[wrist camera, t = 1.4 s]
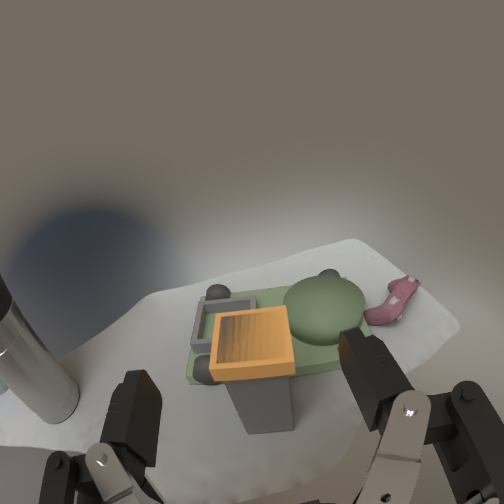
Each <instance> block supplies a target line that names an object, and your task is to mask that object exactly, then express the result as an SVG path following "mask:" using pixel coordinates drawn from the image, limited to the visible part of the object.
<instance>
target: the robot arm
mask: <svg viewBox="0 0 504 504" xmlns="http://www.w3.org/2000/svg"><path fill="white" fill-rule="evenodd" d="M339 359H340V365H341V368H342V371H343V373H344V375H345V377H346V379H347V382H348V384H349V386H350V388H351V390H352V393H353V395H354V397H355V399H356V402H357V404H358V406H359V408H360V411H361V413H362V415H363V417H364V420H365V422H366V424H367V426H368V429H369V431H370V432H371V431H374V430H377V429H378V431H379V433H380V435H381V437H380V440H379V443H378V445H377V448H376V451H375V454H374V456H373V459H372V461H371V464H370V466H369V469H368V471H367V474H366V476H365V478H364V480H363V482H362V484H361V486H360V489H359V491H358V493H357V495H356V497H355V499H354V501H353V503H352V504H409V502H410V499H411V497H412V494H413V491H414V488H415V485H416V482H417V479H418V476H419V472H420V469H421V461H420V455H421V452H422V448H423V445H427V444H432V443H433V445H434V448H435V450H436V452H437V454H438V457H439V459H440V461H441V464H442V466H443V468H444V471H445V474H446V476H447V479H448V481H449V484H450V486H451V489H452V492H453V494H454V497H455V499H456V502H457V504H504V424H503V423H502V421H501V419H500V418H499V416H498V414H497V412H496V411H495V409H494V407H493V406H492V404H491V402H490V401H489V399H488V398H487V396H486V395H485V393H484V391H483V390H482V389H481V387H480V386H479V385H478V384H477V383H475V382H473V381H463V382H460V383H458V384H457V385H456V386H455V387H454V388H453V390H452V392H448V393H443V394H438V395H425V394H424V393H422V392H420V391H416V390H415V389H414V388H413V387H412V386H411V384H410V382H409V381H408V379H407V378H406V376H405V375H404V373H403V371H402V370H401V368H400V367H399V365H398V364H397V362H396V360H394V357H393V356H392V354H391V353H390V352H389V350H388V348H387V347H386V345H385V344H384V342H383V341H382V340H380V339H379V338H377V337H376V336H374V335H370V336H367V337H365V335H364V334H363V332H362V331H361V329H360V328H359V327H358V326H357V327H354V328H350V329H347V330H344V331H340V334H339ZM0 379H1V380H2V381H3V382H4V383H5V384H6V385H7V386H8V387H9V388H10V389H11V390H12V392H13V393H14V394H15V395H16V396H17V397H18V398H19V399H21V400H22V401H23V402H24V403H25V404H26V405H27V406H28V407H29V408H30V409H31V410H32V411H33V412H34V413H35V414H37V415H38V416H39V417H40V418H41V419H42V420H44V421H45V422H47V423H51V424H55V423H59V422H62V421H64V420H65V419H67V418H68V417H69V416H70V415H71V414H72V412H73V411H74V410H75V408H76V405H77V403H78V399H79V390H78V387H77V385H76V383H75V382H74V381H73V380H72V378H71V377H70V376H69V375H68V374H67V373H66V372H65V370H64V369H63V368H62V367H61V365H60V364H59V363H58V362H57V361H56V359H55V358H54V357H53V356H52V354H51V353H50V352H49V350H48V349H47V348H46V347H45V345H44V344H43V343H42V341H41V340H40V339H39V337H38V336H37V334H36V333H35V331H34V330H33V329H32V327H31V326H30V324H29V323H28V321H27V320H26V318H25V317H24V315H23V314H22V312H21V311H20V309H19V307H18V306H17V304H16V302H15V301H14V299H13V297H12V296H11V294H10V292H9V291H8V289H7V287H6V285H5V283H4V281H3V279H2V276H1V274H0ZM161 410H162V396H161V393H160V391H159V390H158V388H157V387H156V385H155V384H154V382H153V381H152V379H151V378H150V376H149V375H148V373H147V372H146V371H145V370H134V371H127V372H126V375H125V378H124V381H123V383H119V385H118V386H117V388H116V389H115V390H114V392H113V394H112V397H111V401H110V404H109V408H108V412H107V415H106V419H105V423H104V427H103V430H102V435H101V439H100V442H99V443H97V444H94V445H92V446H91V447H90V448H89V449H88V451H87V453H86V454H84V455H79V456H74V457H70V456H69V455H67V454H66V453H65V452H63V451H55V452H54V453H52V454H51V455H50V456H49V458H48V459H47V463H46V468H45V472H44V477H43V482H42V487H41V493H40V499H39V504H73V503H74V495H75V491H77V492H78V497H77V504H168V503H167V501H166V500H165V499H164V498H163V496H162V495H161V494H160V492H159V491H158V490H157V488H156V487H155V486H154V484H153V483H152V481H151V480H150V479H149V477H148V476H147V475H146V474H145V468H146V467H155V463H156V453H157V443H158V434H159V426H160V418H161ZM302 504H334V503H320V502H319V500H314V501H310V502H306V503H302Z"/></svg>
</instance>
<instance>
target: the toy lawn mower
mask: <svg viewBox="0 0 504 504" xmlns="http://www.w3.org/2000/svg"><path fill="white" fill-rule="evenodd" d="M282 305H286V309H287V315H288V322H289V328H290V334H291V341H292V348H293V354H294V361H295V374H291V375H289V377H294V376H301V375H308V374H314V373H320V372H326V371H331V370H337V369H342V368H341V365H340V359H339V334H340V331H344V330H347V329H350V328H354V327H357V326H358V327H359V328H360V329H361V331H362V332H363V334H364V335H365V337H367V336H370V335H372V334H371V332H370V329H369V327H368V325H367V322H366V320H365V318H364V316H363V313H364V305H365V299H364V295H363V293H362V291H361V290H360V289H359V287H358V286H356V285H355V284H354V283H352V282H351V281H349V280H347V279H346V277H344V278H341V277H340V275H339V273H338V272H337V271H336V270H334V269H327V270H324V271H322V272H321V273H320V274H319V275H318V276H314V277H310V278H306V279H304V280H301V281H299V282H297V283H296V284H294V285H291V286H284V287H277V288H269V289H262V290H254V291H246V292H238V293H231V292H230V290H229V289H228V288H227V287H226V286H224V285H220V284H215V285H212V286H210V287H209V288H208V289H207V293H206V296H203V297H201V299H200V302H199V303H198V308H197V313H196V318H195V322H194V327H193V332H192V337H191V343H190V345H191V350H190V355H189V361H188V366H187V372H186V377H187V379H188V381H189V383H190V384H191V385H193V384H205V385H217V384H221V383H224V381H214V379H213V377H212V375H211V373H210V371H209V364H210V356H211V347H212V339H213V331H214V323H215V315H216V313H225V312H234V311H243V310H251V309H259V308H267V307H275V306H282Z"/></svg>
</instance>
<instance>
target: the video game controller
mask: <svg viewBox="0 0 504 504" xmlns="http://www.w3.org/2000/svg"><path fill="white" fill-rule="evenodd" d="M420 284H421V283H420V282H419V281H418V280H417V279H416V278H415V277H412V276H411V275H407V276H405V277H404V278H401V279H398V280H394V281H392V282H390V283H389V284H388V290H389V292H390V293H391V294H390V295H389V297H388V298H387V299H386V301H385V302H384V303H383V304H382V305H381V306H379V307H376V308H372V309H368V310H366V311H364V313H363V316H364V318H365V320H366V322H367V324H370V325H382V324H386V323H390V322H392V321H393V320H394V319H396V318H398V319H397V320H400V319H401V318H402V316H403V314H401V312H402V310H403V308H404V307H405V304H406V303H405V302H406V301H407V300H408V299H409V298H410V297H411V296H412V295H413V294H414V293H415V292H416V291H417V289H418V287H419V286H420Z"/></svg>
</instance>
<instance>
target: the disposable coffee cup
mask: <svg viewBox="0 0 504 504" xmlns="http://www.w3.org/2000/svg"><path fill="white" fill-rule="evenodd" d="M7 389H8V386H7V385H6V384H5V383H4V382H3V381H2V380H1V379H0V394H3V393H4V392H5V391H6V390H7Z"/></svg>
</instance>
